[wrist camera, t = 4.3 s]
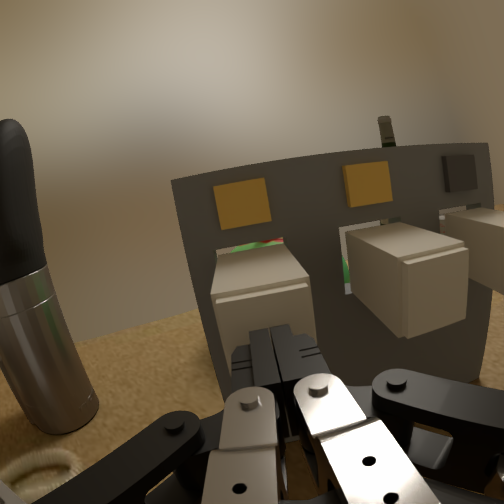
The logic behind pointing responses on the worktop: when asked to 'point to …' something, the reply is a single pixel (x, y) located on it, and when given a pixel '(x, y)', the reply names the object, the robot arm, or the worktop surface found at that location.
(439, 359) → the button panel
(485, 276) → the right button
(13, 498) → the grater
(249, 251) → the left button
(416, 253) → the middle button
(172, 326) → the worktop surface
